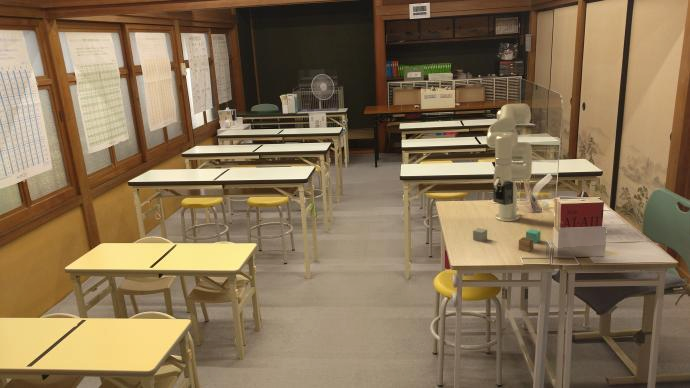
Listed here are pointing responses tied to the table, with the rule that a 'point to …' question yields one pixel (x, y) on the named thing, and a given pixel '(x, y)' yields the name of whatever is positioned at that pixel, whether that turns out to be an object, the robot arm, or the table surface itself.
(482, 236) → the slate cube
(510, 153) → the robot arm
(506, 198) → the box
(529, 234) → the teal cube
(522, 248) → the walnut cube
